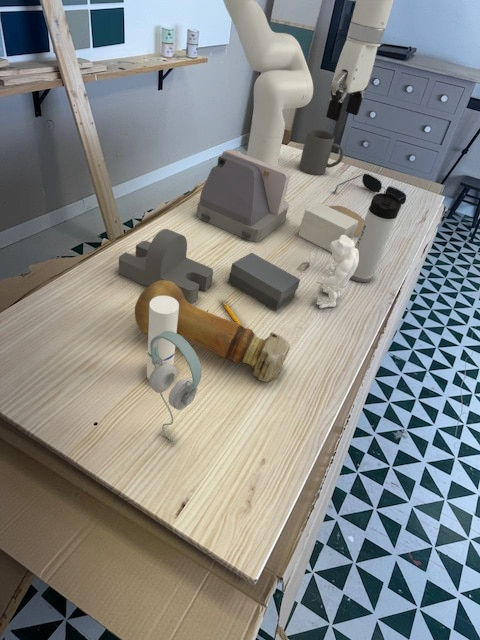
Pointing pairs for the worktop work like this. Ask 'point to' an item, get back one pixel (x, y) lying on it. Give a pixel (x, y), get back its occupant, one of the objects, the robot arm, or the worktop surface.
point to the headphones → (174, 373)
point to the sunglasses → (379, 187)
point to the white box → (330, 219)
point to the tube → (162, 328)
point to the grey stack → (263, 281)
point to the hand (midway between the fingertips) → (342, 116)
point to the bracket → (166, 265)
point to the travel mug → (375, 234)
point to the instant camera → (244, 196)
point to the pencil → (231, 313)
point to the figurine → (339, 269)
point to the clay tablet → (352, 215)
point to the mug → (318, 152)
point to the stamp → (217, 333)
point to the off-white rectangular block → (318, 234)
